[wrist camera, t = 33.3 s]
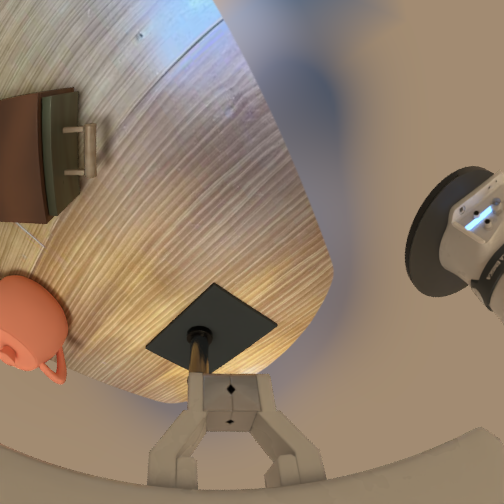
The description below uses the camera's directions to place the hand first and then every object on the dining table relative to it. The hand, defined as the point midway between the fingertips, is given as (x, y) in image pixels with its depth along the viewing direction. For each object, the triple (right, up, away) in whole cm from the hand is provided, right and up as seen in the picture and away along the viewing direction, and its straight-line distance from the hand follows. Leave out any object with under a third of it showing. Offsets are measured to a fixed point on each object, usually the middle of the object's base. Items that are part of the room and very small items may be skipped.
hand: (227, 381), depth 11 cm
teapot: (-41, -5, +33) cm, 53 cm away
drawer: (-25, +18, +19) cm, 36 cm away
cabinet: (-29, +19, +19) cm, 40 cm away
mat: (-7, -10, +40) cm, 42 cm away
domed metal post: (-8, -9, +39) cm, 41 cm away
